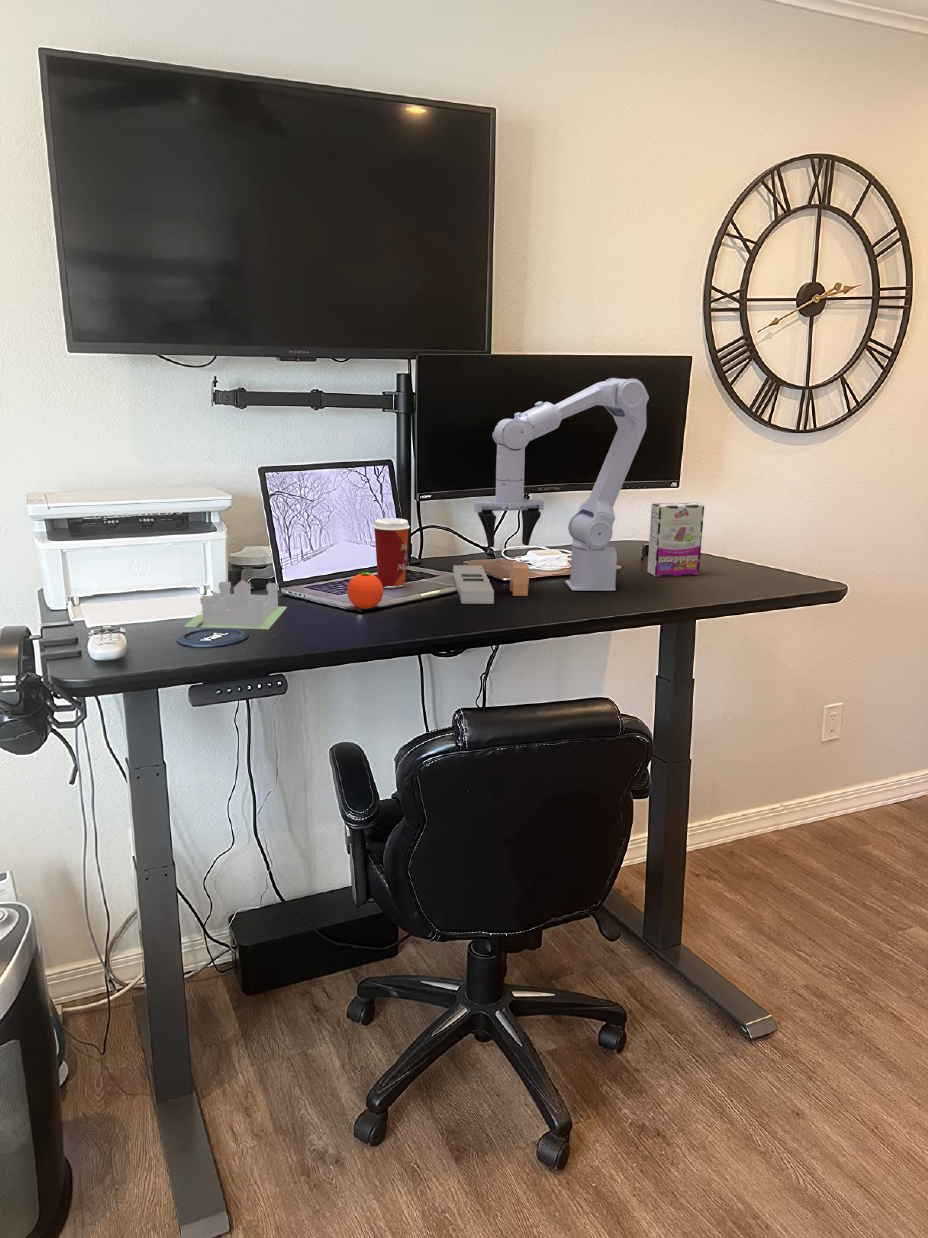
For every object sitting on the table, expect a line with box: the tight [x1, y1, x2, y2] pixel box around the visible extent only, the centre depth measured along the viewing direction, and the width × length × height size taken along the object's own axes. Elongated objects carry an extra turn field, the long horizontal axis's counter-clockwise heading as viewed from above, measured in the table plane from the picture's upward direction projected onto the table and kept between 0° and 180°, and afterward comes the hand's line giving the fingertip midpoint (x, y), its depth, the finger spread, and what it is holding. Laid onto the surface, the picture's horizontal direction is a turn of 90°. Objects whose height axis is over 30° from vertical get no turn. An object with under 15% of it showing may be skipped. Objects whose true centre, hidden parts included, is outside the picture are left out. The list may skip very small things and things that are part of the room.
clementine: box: [346, 571, 384, 610], centre depth 172 cm, size 8×7×7 cm
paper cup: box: [372, 517, 411, 586], centre depth 188 cm, size 8×8×14 cm
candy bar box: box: [647, 502, 705, 578], centre depth 205 cm, size 11×5×16 cm, turn 104°
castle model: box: [183, 579, 288, 630], centre depth 164 cm, size 15×15×7 cm
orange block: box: [509, 560, 530, 597], centre depth 186 cm, size 3×6×6 cm, turn 5°
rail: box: [452, 564, 495, 605], centre depth 189 cm, size 6×24×2 cm, turn 5°
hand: (508, 545), depth 185 cm, fingers open, 7 cm apart
